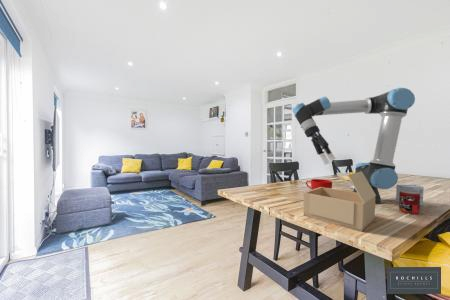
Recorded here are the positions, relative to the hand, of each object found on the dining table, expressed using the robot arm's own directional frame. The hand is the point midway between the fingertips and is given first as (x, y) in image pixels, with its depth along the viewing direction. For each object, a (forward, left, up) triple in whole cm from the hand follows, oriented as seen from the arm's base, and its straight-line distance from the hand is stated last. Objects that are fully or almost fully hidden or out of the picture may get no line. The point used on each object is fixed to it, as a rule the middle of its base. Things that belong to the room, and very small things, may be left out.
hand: (329, 162), depth 111 cm
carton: (+2, +15, -25) cm, 29 cm away
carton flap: (-4, +21, -8) cm, 23 cm away
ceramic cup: (-6, -28, -25) cm, 38 cm away
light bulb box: (-53, -13, -25) cm, 60 cm away
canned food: (-39, +4, -25) cm, 46 cm away
